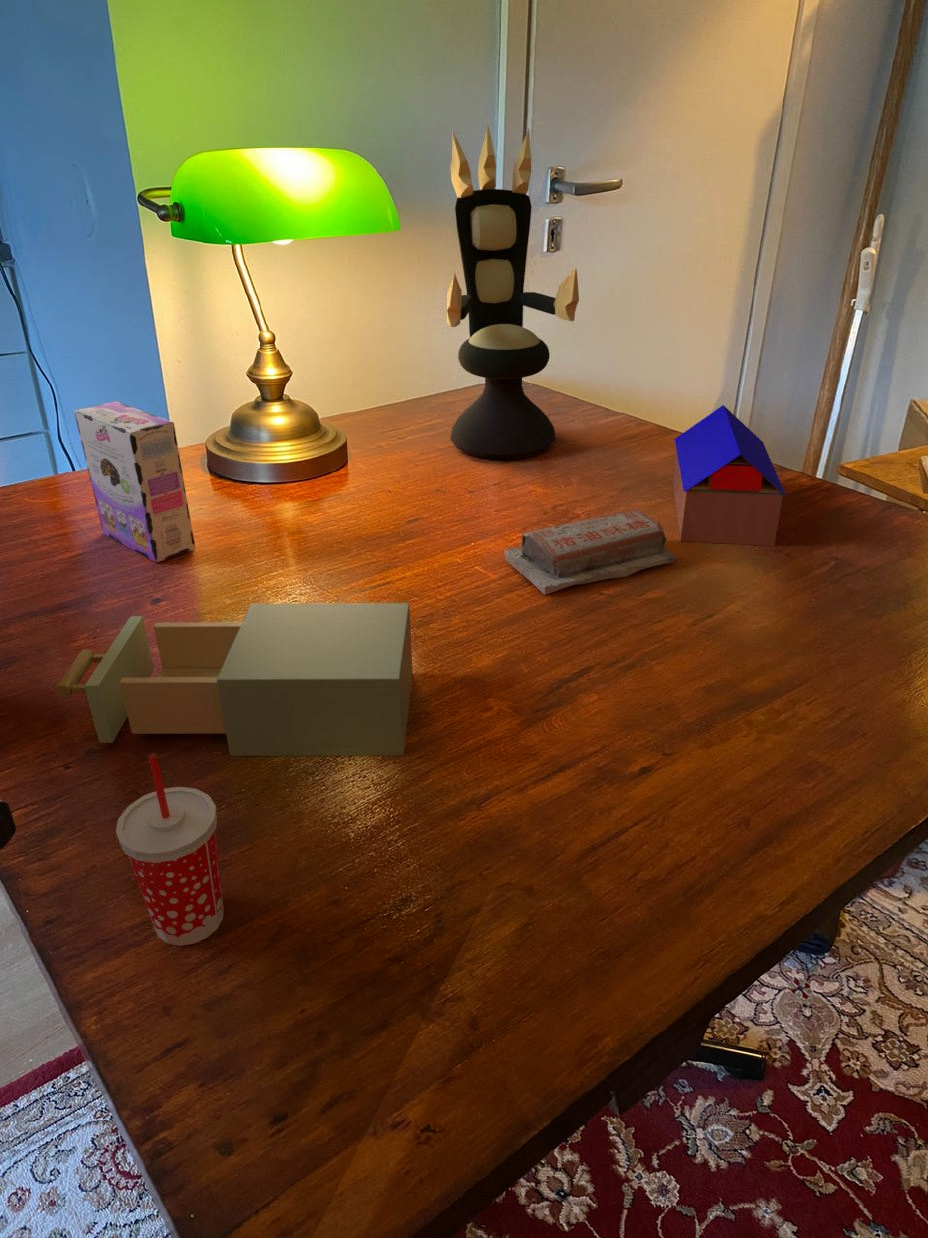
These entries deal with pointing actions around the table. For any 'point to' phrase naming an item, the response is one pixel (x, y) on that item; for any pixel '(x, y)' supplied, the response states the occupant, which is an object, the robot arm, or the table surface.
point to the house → (725, 484)
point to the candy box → (136, 479)
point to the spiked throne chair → (500, 309)
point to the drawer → (155, 679)
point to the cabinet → (318, 680)
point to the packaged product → (590, 550)
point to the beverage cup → (175, 859)
